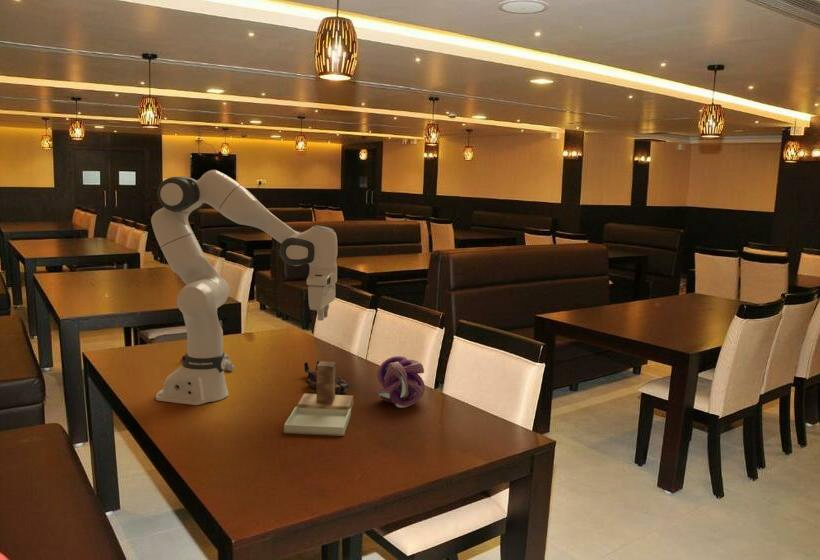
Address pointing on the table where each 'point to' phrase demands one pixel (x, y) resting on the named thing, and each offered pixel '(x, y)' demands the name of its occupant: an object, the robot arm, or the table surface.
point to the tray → (317, 421)
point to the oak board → (339, 403)
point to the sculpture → (401, 381)
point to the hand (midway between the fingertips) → (322, 318)
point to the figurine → (312, 380)
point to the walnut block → (325, 382)
